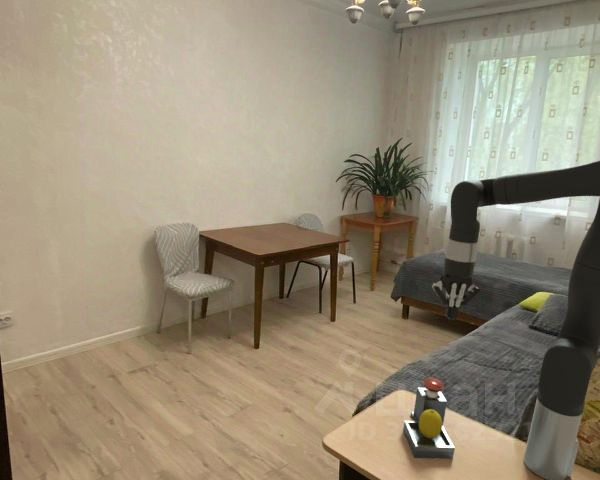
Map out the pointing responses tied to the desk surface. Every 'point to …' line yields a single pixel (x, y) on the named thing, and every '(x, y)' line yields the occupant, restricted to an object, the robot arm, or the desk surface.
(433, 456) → the square metal tray
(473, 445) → the desk surface
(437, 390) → the plunger
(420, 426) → the lemon
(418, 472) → the desk surface
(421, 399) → the press column
